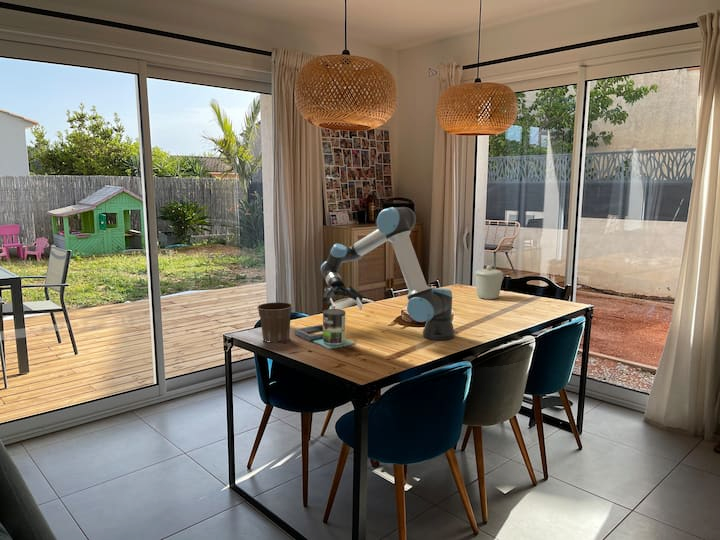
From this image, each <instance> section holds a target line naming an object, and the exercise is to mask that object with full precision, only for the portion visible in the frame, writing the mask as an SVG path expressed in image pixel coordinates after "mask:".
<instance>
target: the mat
mask: <svg viewBox="0 0 720 540" xmlns="http://www.w3.org/2000/svg"><path fill="white" fill-rule="evenodd" d="M312 343H314V344H317V345H318V344H319V345H318V346H320V345H321V347H323V348H325V349H327V350H329V349H330V350H334V349H339V348H343V346H344V347H348V345H349V346H352V345H353V344H354V345H356V342H354V341H351V340H349V339H347V338H345V342H344V343H343V344H339V345H329V344H325V343H323V339H320V340H315V341H312ZM338 347H339V348H338ZM333 348H334V349H333Z"/></svg>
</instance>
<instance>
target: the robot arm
mask: <svg viewBox="0 0 720 540" xmlns="http://www.w3.org/2000/svg"><path fill="white" fill-rule="evenodd" d="M416 219H417V216H416V215H415V212H414V211H413V210H412V209H411V208H409V207H406V206H400V207H399V206H398V207H393V206H391V207H388V208H384V209H382V210H381V211H380V212H379V213H378V216H377V218H376V226H377V229H375V230H374V231H373V232H370V233H369V234H367V235H366V236H364V237H363V238H361V239H359V240H358V241H356V242H355V243H353V244H352V245H349V246H346V245H344V244H341V243H335V244H333V245H332V247H331V249H330V252H329V255H328V257H327V259H326V260H325V261H324V262H322V264H320V272H321V275H322V276H323V278H324V280H325V283H326V284H327V286H324V293H323V296H322V302H323V303H325V304H326V305H328V306H329V307H330V309H336V305H335V303H334V301H333V298H334V297H335V296H344V297H348V298H350V299H352V300H354V301H355V303H356V305H357V307H358V309H359V310H360V311H362V310H363V306H364V305H363V298H364V295H362V294H361V293H360V292H358V291H357V290H355V289H354V288H353V286H351V285H349V287H347V286H345V283H344V281H343V279H342V277H341V275H340V274H339V270H340V268H341V266H342V264H343V263H348V262H354V261H355V262H356V261H359V260H361V259H362V258H363V257H364V255H366V254H369V252H371V251H373V250H375V249H376V248H377V247H380V246H381V245H383V244H384V243H386V242H389V243H391V246H392V248H393V251H394V254H395V257H396V259H397V262H398V265H399V268H400V271H401V273H402V275H403V279H404V281H405V283H406V284H405V285H406V288H407V289H408V293H407V300H408V301H407V305H406V311H407V313H408V316H409V317H410V318H411V319H412V320H414V321H416V322H419V323H424V322H425V324H424V328H423V330H422V336H423V338H426V339H428V340H433V341H448V340H453V339H454V338H455V337H456V332H455V329H454V324H453V322H452V318H453V317H452V316H453V312H452V311H453V293H452V292H453V291H452V290H451V289H447V288H441V287H440V288H439V287H431V286H429V285H428V284H427V282H426V280H425V276H424V274H423V271H422V268H421V266H420V263H419V259H418V258H417V254H416V251H415V248H414V247H413V243H412V240H411V237H410V234H411V232H412V229H413V228H414V227H415V225H416V221H417V220H416ZM328 293H329V294H328Z"/></svg>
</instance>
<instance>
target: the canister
mask: <svg viewBox="0 0 720 540" xmlns="http://www.w3.org/2000/svg"><path fill="white" fill-rule="evenodd" d="M474 274H475V287H476V294H477V297H478V298H479V297H480V298H479V299H482V298H484V299H483V300H496V298H497V299H498V298H499V296H500V294H501V288H502V287H501V286H502V280H503V275H504V272H502V270H500V269H494V268H493V266H492V265H489V264H488V265H486V268H481V269H477V270H475V271H474Z"/></svg>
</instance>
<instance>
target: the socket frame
mask: <svg viewBox="0 0 720 540" xmlns="http://www.w3.org/2000/svg"><path fill="white" fill-rule="evenodd" d="M319 330H322V331H321V332H322V333H316V334H310V333H314V332H313V331H316V332H320V331H319ZM293 331H294V332H293V333H295V334H296V336H297V335H298V337H299V336H300V337H299V338H301V337H302V339H304V340H305V341H308V342H310V343H311V342H313V341H315V340H320V339H323V324H317V325H312V326H304V327H300V328H295V329H294V330H293ZM307 332H310V333H307ZM295 334H294V335H295Z"/></svg>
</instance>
